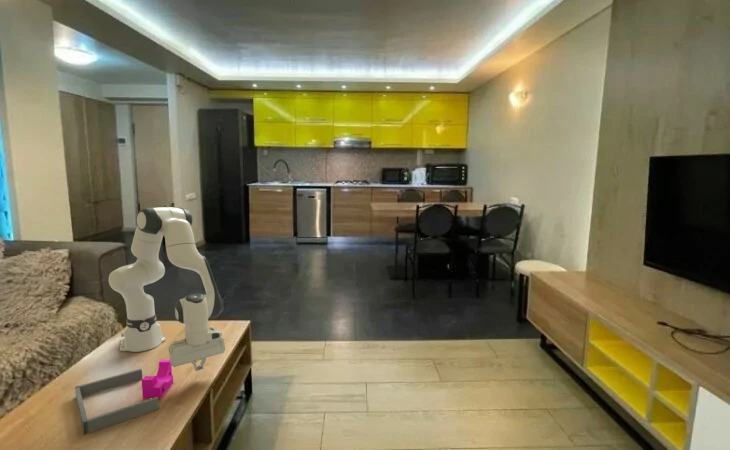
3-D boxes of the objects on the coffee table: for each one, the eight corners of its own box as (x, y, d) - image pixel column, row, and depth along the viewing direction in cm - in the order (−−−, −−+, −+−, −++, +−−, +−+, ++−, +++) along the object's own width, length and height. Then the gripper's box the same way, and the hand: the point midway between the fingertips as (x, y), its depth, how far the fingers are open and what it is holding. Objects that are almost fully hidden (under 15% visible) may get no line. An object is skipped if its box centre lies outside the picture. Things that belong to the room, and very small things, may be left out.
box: (75, 397, 146) (74, 386, 146) (141, 377, 160) (141, 368, 159) (84, 434, 126) (83, 422, 126) (158, 409, 140) (158, 398, 139)
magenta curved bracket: (160, 399, 146) (159, 379, 145) (143, 399, 146) (141, 379, 145) (178, 377, 161) (177, 359, 160) (162, 377, 161) (161, 359, 159)
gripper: (170, 346, 148) (173, 381, 151) (226, 332, 162) (227, 364, 164) (166, 340, 153) (168, 374, 155) (220, 327, 166) (221, 358, 168)
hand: (199, 369), depth 160 cm, fingers closed
